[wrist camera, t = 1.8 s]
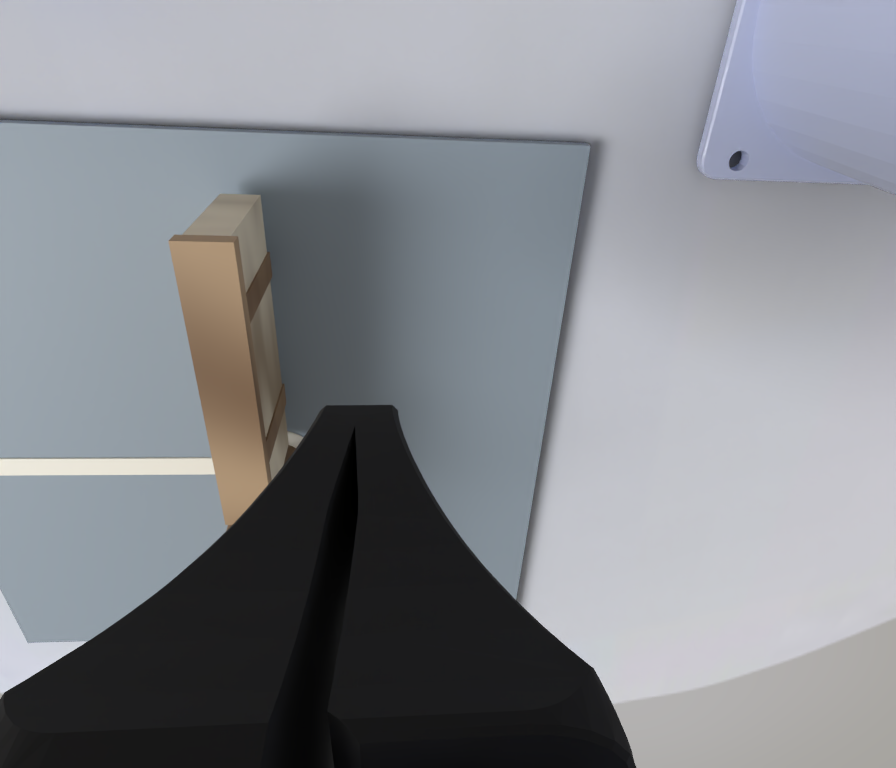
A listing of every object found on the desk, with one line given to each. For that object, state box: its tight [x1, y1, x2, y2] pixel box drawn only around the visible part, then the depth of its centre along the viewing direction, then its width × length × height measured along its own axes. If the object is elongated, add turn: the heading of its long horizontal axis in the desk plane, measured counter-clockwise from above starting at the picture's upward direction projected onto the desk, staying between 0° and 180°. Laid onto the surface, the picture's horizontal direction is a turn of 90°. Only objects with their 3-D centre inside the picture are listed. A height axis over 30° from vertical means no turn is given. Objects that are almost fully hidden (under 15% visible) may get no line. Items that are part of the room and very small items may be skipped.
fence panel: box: [168, 194, 289, 525], centre depth 16 cm, size 8×1×4 cm, turn 177°
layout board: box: [0, 120, 591, 643], centre depth 21 cm, size 20×20×1 cm
